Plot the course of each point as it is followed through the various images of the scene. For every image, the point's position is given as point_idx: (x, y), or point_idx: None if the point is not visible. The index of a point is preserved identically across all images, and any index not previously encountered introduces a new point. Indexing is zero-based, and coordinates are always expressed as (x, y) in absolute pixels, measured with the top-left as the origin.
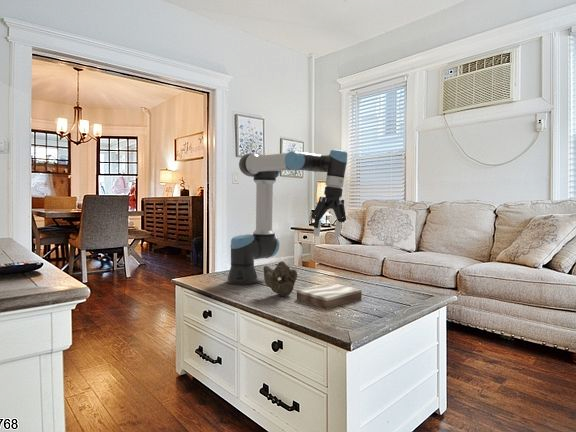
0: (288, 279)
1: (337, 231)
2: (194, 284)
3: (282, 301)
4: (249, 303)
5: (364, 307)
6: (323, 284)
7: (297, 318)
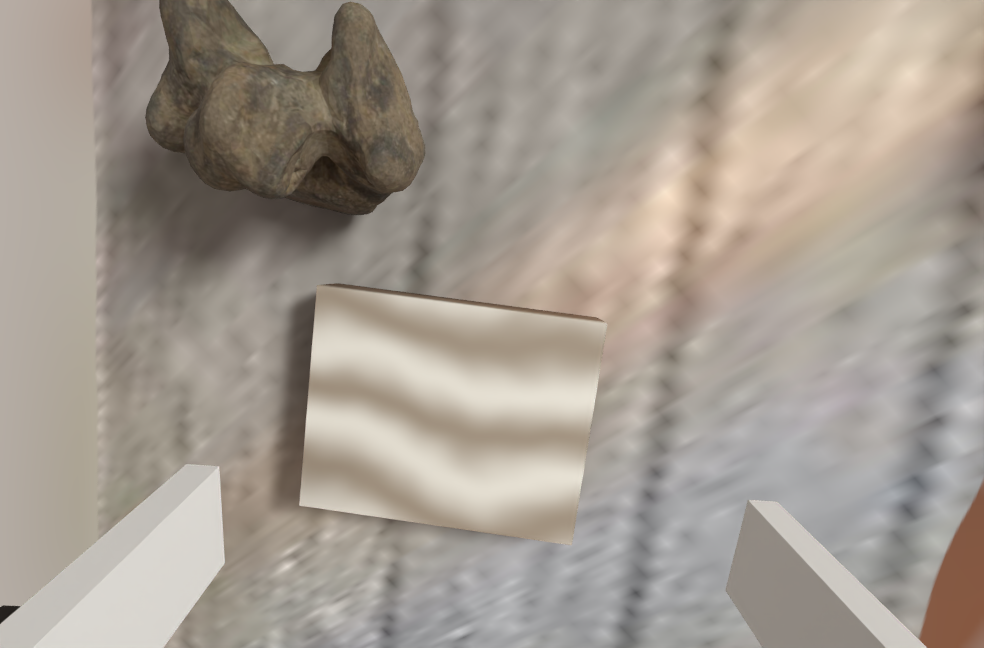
0: (342, 169)
1: (791, 630)
2: None
3: (262, 253)
4: (122, 155)
5: (452, 589)
6: (532, 317)
7: (136, 468)
